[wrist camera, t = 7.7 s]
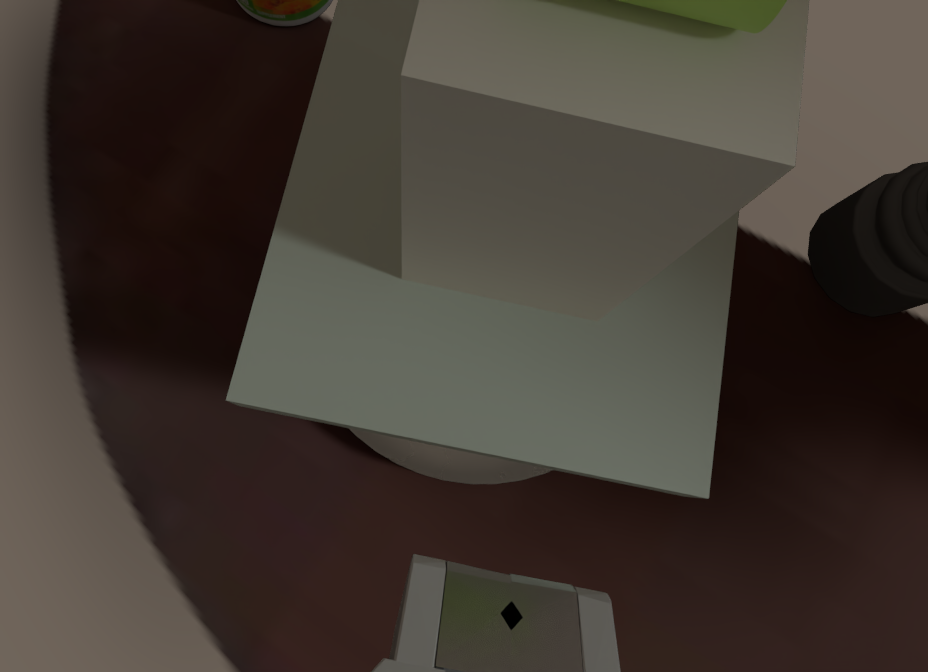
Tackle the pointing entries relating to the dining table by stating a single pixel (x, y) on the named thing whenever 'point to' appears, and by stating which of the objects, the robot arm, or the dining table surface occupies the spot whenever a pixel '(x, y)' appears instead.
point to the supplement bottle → (285, 10)
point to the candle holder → (876, 245)
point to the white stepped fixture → (525, 227)
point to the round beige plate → (448, 461)
